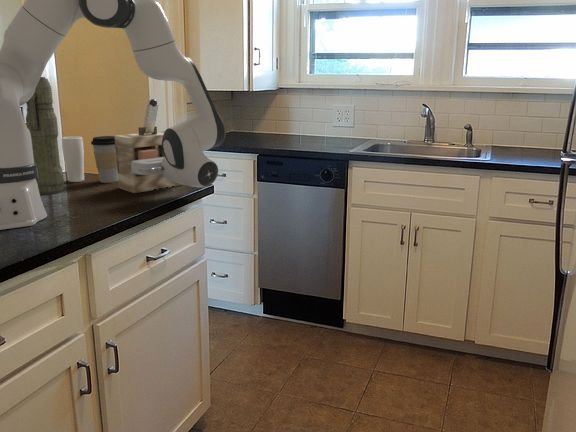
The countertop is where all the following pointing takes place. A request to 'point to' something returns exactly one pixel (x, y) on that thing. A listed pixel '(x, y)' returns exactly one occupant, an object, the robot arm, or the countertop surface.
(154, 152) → the key terracotta
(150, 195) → the countertop surface
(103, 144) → the coffee cup
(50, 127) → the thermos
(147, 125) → the toggle lever
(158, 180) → the console
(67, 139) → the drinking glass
